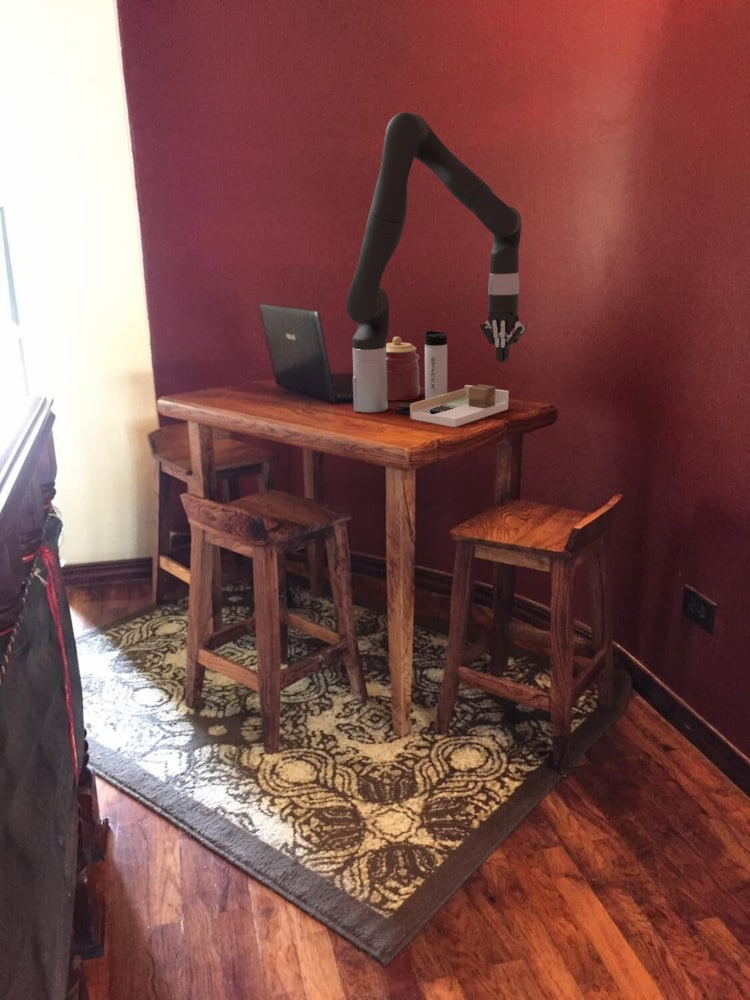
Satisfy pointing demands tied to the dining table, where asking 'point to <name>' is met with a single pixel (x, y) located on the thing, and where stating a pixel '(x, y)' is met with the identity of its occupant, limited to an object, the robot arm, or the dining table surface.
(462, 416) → the tray
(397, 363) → the canister
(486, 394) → the block
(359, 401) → the robot arm
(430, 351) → the travel mug
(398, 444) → the dining table surface
